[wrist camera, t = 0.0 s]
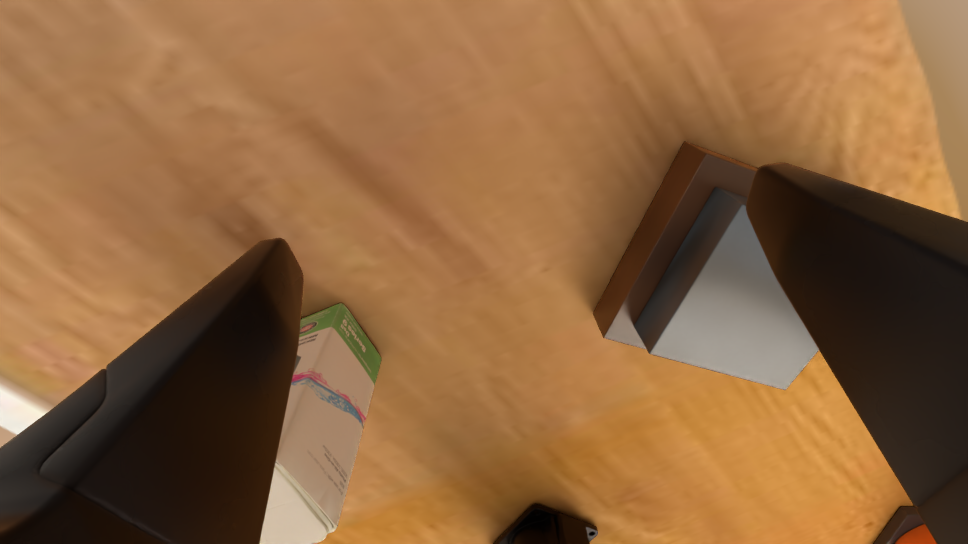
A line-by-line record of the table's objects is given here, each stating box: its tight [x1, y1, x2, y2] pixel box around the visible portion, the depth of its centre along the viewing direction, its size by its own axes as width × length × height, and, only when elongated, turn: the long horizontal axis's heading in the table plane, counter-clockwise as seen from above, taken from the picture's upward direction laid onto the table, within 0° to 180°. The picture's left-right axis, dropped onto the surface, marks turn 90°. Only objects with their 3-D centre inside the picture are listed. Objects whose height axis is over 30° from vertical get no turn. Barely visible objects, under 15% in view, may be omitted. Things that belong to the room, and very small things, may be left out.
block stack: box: [593, 141, 819, 390], centre depth 25 cm, size 11×11×5 cm
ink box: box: [259, 303, 382, 544], centre depth 24 cm, size 9×5×12 cm, turn 113°
